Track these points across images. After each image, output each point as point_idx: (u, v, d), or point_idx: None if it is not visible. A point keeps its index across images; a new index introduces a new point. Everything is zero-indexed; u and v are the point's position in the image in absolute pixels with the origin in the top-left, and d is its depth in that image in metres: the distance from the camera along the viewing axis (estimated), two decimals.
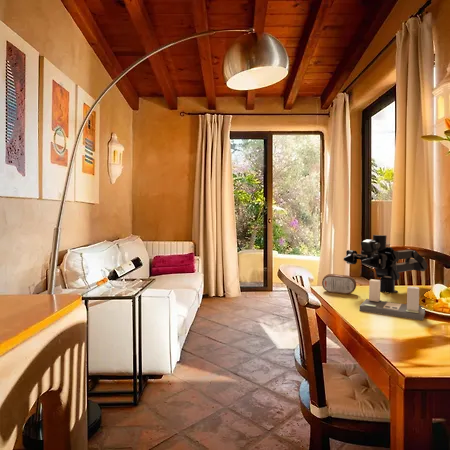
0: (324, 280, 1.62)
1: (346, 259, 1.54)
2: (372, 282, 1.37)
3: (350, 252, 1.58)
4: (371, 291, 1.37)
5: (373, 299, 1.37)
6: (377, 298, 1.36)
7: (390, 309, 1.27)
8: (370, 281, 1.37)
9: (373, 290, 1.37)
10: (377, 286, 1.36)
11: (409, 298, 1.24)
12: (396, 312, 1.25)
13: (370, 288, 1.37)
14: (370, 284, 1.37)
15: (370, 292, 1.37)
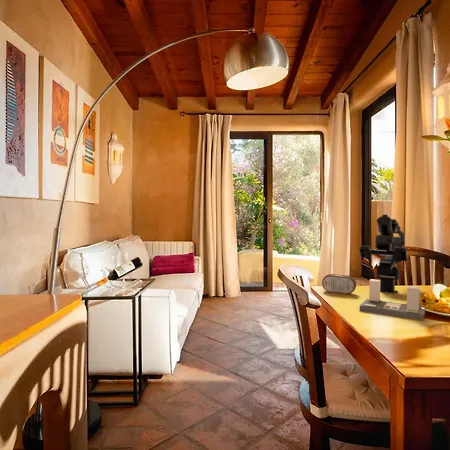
0: (324, 280, 1.62)
1: (371, 264, 1.50)
2: (372, 282, 1.37)
3: (368, 252, 1.52)
4: (371, 291, 1.37)
5: (373, 299, 1.37)
6: (377, 298, 1.36)
7: (390, 309, 1.27)
8: (370, 281, 1.37)
9: (373, 290, 1.37)
10: (377, 286, 1.36)
11: (409, 298, 1.24)
12: (396, 312, 1.25)
13: (370, 288, 1.37)
14: (370, 284, 1.37)
15: (370, 292, 1.37)
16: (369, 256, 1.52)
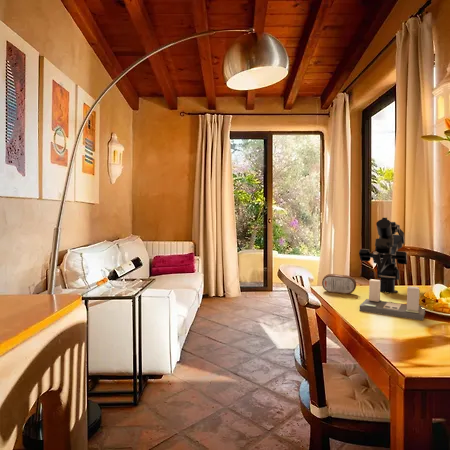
0: (324, 280, 1.62)
1: None
2: (372, 282, 1.37)
3: (377, 256, 1.49)
4: (371, 291, 1.37)
5: (373, 299, 1.37)
6: (377, 298, 1.36)
7: (390, 309, 1.27)
8: (370, 281, 1.37)
9: (373, 290, 1.37)
10: (377, 286, 1.36)
11: (409, 298, 1.24)
12: (396, 312, 1.25)
13: (370, 288, 1.37)
14: (370, 284, 1.37)
15: (370, 292, 1.37)
16: (378, 260, 1.48)
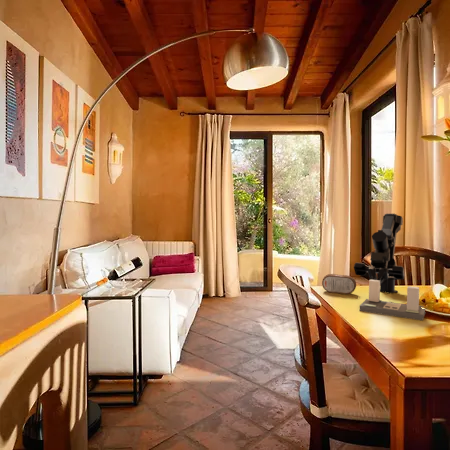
0: (324, 280, 1.62)
1: None
2: (372, 282, 1.36)
3: (372, 271, 1.42)
4: (371, 291, 1.37)
5: (373, 299, 1.36)
6: (377, 298, 1.35)
7: (390, 309, 1.27)
8: (370, 281, 1.37)
9: (373, 291, 1.36)
10: (377, 286, 1.35)
11: (409, 298, 1.24)
12: (396, 312, 1.25)
13: (370, 288, 1.37)
14: (370, 284, 1.37)
15: (370, 292, 1.37)
16: (374, 275, 1.41)
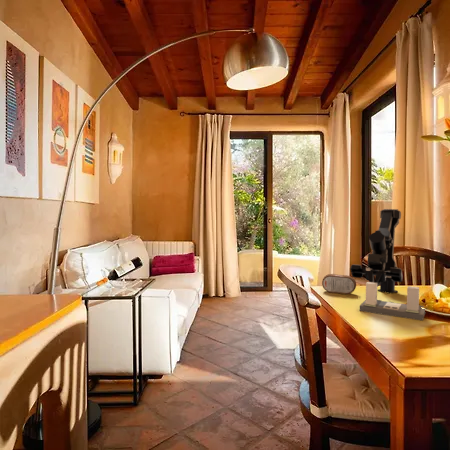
0: (324, 280, 1.62)
1: None
2: (369, 285, 1.32)
3: (369, 273, 1.37)
4: (368, 294, 1.32)
5: (370, 302, 1.32)
6: (374, 301, 1.31)
7: (390, 309, 1.27)
8: (367, 284, 1.32)
9: (370, 293, 1.31)
10: (374, 289, 1.31)
11: (409, 298, 1.24)
12: (396, 312, 1.25)
13: (367, 291, 1.32)
14: (367, 287, 1.32)
15: (367, 295, 1.32)
16: (371, 277, 1.36)
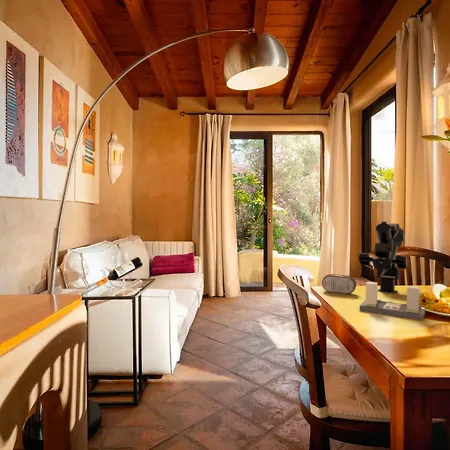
0: (324, 280, 1.62)
1: None
2: (369, 285, 1.32)
3: (376, 261, 1.48)
4: (368, 294, 1.32)
5: (370, 302, 1.32)
6: (374, 301, 1.31)
7: (390, 309, 1.27)
8: (367, 284, 1.32)
9: (370, 293, 1.32)
10: (374, 289, 1.31)
11: (409, 298, 1.24)
12: (396, 312, 1.25)
13: (367, 291, 1.32)
14: (367, 287, 1.32)
15: (367, 295, 1.32)
16: (378, 265, 1.48)
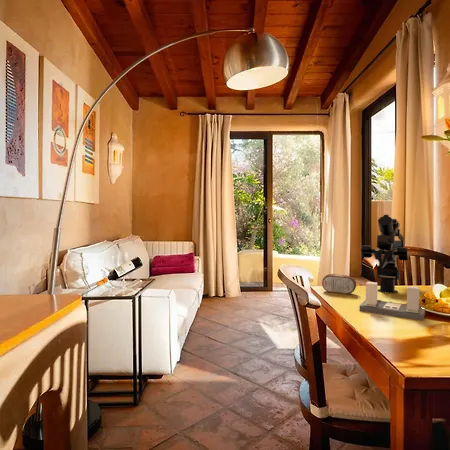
0: (324, 280, 1.62)
1: None
2: (369, 285, 1.32)
3: (378, 252, 1.52)
4: (368, 294, 1.32)
5: (370, 302, 1.32)
6: (374, 301, 1.31)
7: (390, 309, 1.27)
8: (367, 284, 1.32)
9: (370, 293, 1.32)
10: (374, 289, 1.31)
11: (409, 298, 1.24)
12: (396, 312, 1.25)
13: (367, 291, 1.32)
14: (367, 287, 1.32)
15: (367, 295, 1.32)
16: (380, 256, 1.51)
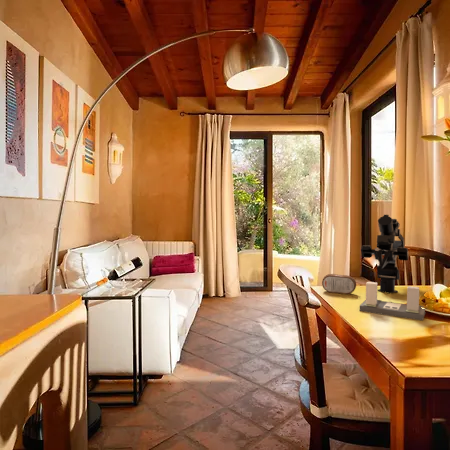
0: (324, 280, 1.62)
1: None
2: (369, 285, 1.32)
3: (378, 252, 1.52)
4: (368, 294, 1.32)
5: (370, 302, 1.32)
6: (374, 301, 1.31)
7: (390, 309, 1.27)
8: (367, 284, 1.32)
9: (370, 293, 1.32)
10: (374, 289, 1.31)
11: (409, 298, 1.24)
12: (396, 312, 1.25)
13: (367, 291, 1.32)
14: (367, 287, 1.32)
15: (367, 295, 1.32)
16: (380, 256, 1.51)
